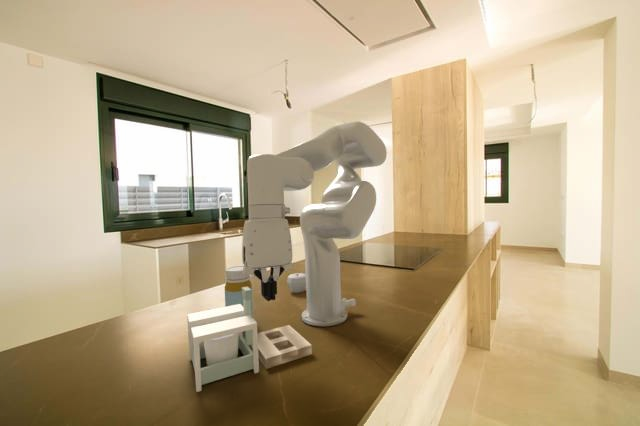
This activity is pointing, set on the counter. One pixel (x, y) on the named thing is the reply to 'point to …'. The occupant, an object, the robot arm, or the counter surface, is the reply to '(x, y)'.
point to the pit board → (281, 346)
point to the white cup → (221, 349)
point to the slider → (232, 365)
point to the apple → (297, 282)
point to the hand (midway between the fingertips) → (269, 298)
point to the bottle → (236, 286)
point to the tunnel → (219, 331)
